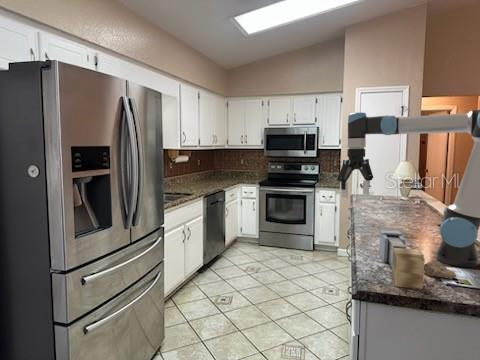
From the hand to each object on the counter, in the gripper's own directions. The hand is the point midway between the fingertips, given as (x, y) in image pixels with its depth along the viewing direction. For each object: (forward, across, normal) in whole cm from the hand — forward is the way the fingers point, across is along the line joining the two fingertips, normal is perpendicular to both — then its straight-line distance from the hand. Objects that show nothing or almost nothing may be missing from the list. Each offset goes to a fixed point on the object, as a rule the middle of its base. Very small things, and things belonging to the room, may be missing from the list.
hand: (355, 195), depth 149 cm
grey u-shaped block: (+26, -6, +14) cm, 31 cm away
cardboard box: (+26, +10, +33) cm, 43 cm away
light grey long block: (+26, -4, +17) cm, 32 cm away
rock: (+27, -7, +34) cm, 44 cm away
